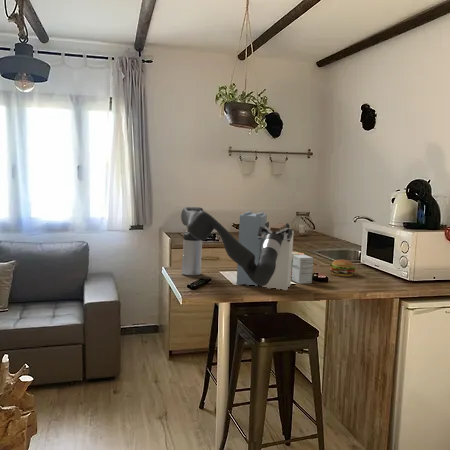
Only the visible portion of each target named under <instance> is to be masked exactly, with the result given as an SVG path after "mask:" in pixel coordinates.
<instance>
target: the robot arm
mask: <svg viewBox="0 0 450 450" xmlns="http://www.w3.org/2000/svg"><path fill="white" fill-rule="evenodd" d="M180 219H181V222H182V224H183V226H186V229H187V231H188V232H184V233H183V244H182V256H181V257H182V258H181V275H185V276H199V275H201V274H202V272H201V271H202V252H203V251H202V250H203V241H205V240H207V239H208V238H209V236H210V235H211V234H212V232H213V231H214V230H215V231H216V232H217V233H218V234H219V237H220V239H221V240H222V243H223V247H224V249H225V252H226V254H227V256H228V257H229V258H230V259H231V260H232V261H233V262H235V264H238V265H240V266H241V267H242V268H243V269H244V271H245V272H246V274H247V275H248V276H249V278H250V279H251V280H252V281H253V282H254V283H255V284H257V285H259V287H260V286H261V287H263V286H264V285H266V284H267V283H268V282H269V280H270V279H271V277H272V275H273V274H274V271H275V268H276V259H277V256H278V254H279V251H280V247H281V244H282V241H283V240H287V241H288V242H290V240H291V237H292V231H293V228H290V227H291V226H290V224H289V223H288V222H285V223H286V227H285V229H282V230H280V231H277V232H273V231H271V230H270V229H269V228H270V222H269V221H267V223H265V226H264V227H260V228H259V232H258V239H261V238H264V241H263V244H262V247H261V252H260V255H259V262H258V265H257V266H256V264H255V255H254V254H253V253H252V252H251V251H249V250H248V249H247V248H246V247H244V246H243V245H242V244H241V243H239V240H237V239H236V238H235V237H234V236H233V235H232V233H230V232H229V230H227V229H226V228H225V227H224V226H223V225H222V224H221V223H220V222H219V221H218V220H217V219H215V218H214V217H213V216H212V215H210V214H209V213H208V212H206V211H204V209H203V207H199V206H197V207H195V206H186V207H184V208H183V209H182V210H181V215H180ZM262 232H265V233H266V234H265V235H263V233H262ZM287 234H288V235H287ZM285 235H286V236H285Z"/></svg>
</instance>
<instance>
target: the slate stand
mask: <svg viewBox="0 0 450 450" xmlns="http://www.w3.org/2000/svg"><path fill="white" fill-rule="evenodd" d="M267 217H268V214H265V213H264V212H263V211H262V212H258V213H253V212H252V211H251V210H249V211H246V212H244V213H242V214H240V215H239V223H238V224H239V225H238V226H239V227H238V228H239V229H238V242H239V243H241V244H242V245H243V246H244V247H246V248H247V249H248V250H249V251H251V252H252V253H253V254H254V255H255V264H256V266H257V265H258V262H259V255H260V252H261V247H262V244H263V241H264V238H261V239H258V232H259V228H260V227H264V226H265V223H267V222H268V221H267V219H268V218H267ZM262 233H263V235H265V234H266V233H265V232H262ZM236 264H237V263H236ZM236 267H237V268H236V285H240V284H247V285H246V286H249V285H255V286H254V287H259V286H258V285H257V284H255V283H254V282H253V281H252V280H251V279H250V278H249V276H248V275H247V274H246V272H245V271H244V269H243V268H242V267H241V266H240V265H238V264H237V266H236Z"/></svg>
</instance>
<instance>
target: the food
mask: <svg viewBox="0 0 450 450" xmlns="http://www.w3.org/2000/svg"><path fill="white" fill-rule="evenodd" d="M357 269H358V267H356V266H355V265H354V263H353V262H352V261H350V260H347V259H341V258H339V259H336V260H333V261H332V263H330V264H329V272H330V273H331V274H332V275H333V276H337V277H343V278H344V277H345V278H346V277H347V278H348V277H353V276H354V273H355V272H356V270H357Z"/></svg>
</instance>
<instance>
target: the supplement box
mask: <svg viewBox="0 0 450 450" xmlns="http://www.w3.org/2000/svg"><path fill="white" fill-rule="evenodd" d="M313 267H314V257H312V256H309V255H307V254H304V255H293V267H292V278H291V281H293V282H295V283H297V284H300V285H301V284H312V281H313V269H314V268H313Z"/></svg>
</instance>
